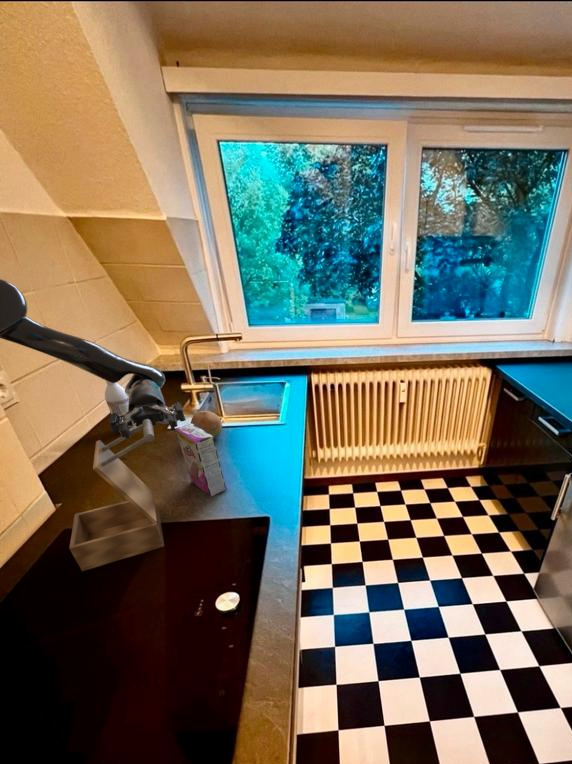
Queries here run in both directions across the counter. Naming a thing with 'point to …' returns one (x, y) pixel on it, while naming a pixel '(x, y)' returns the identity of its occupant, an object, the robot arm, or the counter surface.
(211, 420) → the brown round ball
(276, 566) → the counter surface
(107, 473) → the box lid
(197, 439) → the candy bar box
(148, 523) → the oak box
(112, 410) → the bath foam
